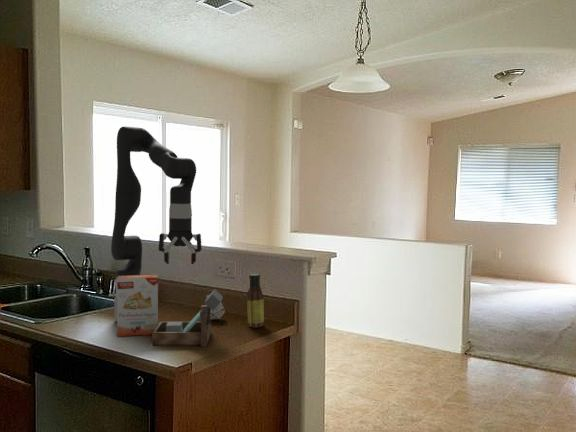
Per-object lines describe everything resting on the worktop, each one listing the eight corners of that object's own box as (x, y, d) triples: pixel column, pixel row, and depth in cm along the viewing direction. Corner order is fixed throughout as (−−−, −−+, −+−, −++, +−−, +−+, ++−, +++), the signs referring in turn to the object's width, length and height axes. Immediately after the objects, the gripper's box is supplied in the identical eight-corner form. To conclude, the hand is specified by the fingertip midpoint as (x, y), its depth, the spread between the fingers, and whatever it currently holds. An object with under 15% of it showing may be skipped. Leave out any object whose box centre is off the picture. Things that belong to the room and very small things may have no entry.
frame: (151, 347, 173) (151, 306, 172) (161, 332, 190) (161, 295, 190) (206, 347, 174) (206, 306, 173) (211, 332, 191) (211, 295, 191)
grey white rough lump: (219, 328, 210) (233, 307, 212) (214, 326, 202) (229, 304, 204) (201, 315, 212) (216, 295, 214) (196, 313, 204) (211, 291, 206)
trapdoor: (184, 342, 176) (175, 334, 176) (189, 332, 188) (180, 325, 188) (220, 303, 176) (211, 295, 176) (223, 295, 188) (215, 288, 188)
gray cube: (180, 339, 180) (165, 339, 179) (182, 335, 185) (168, 335, 184) (180, 325, 179) (165, 325, 179) (182, 321, 184) (168, 321, 184)
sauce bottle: (266, 325, 202) (267, 273, 201) (259, 329, 196) (259, 276, 195) (251, 323, 205) (252, 272, 203) (243, 326, 199) (244, 275, 198)
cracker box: (117, 337, 183) (116, 278, 182) (117, 332, 189) (117, 275, 188) (158, 334, 187) (158, 276, 186) (157, 330, 193) (157, 273, 192)
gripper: (157, 217, 175) (157, 265, 176) (200, 217, 176) (199, 265, 177) (161, 215, 183) (161, 261, 184) (202, 216, 183) (202, 262, 184)
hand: (180, 263), depth 180 cm, fingers open, 8 cm apart
